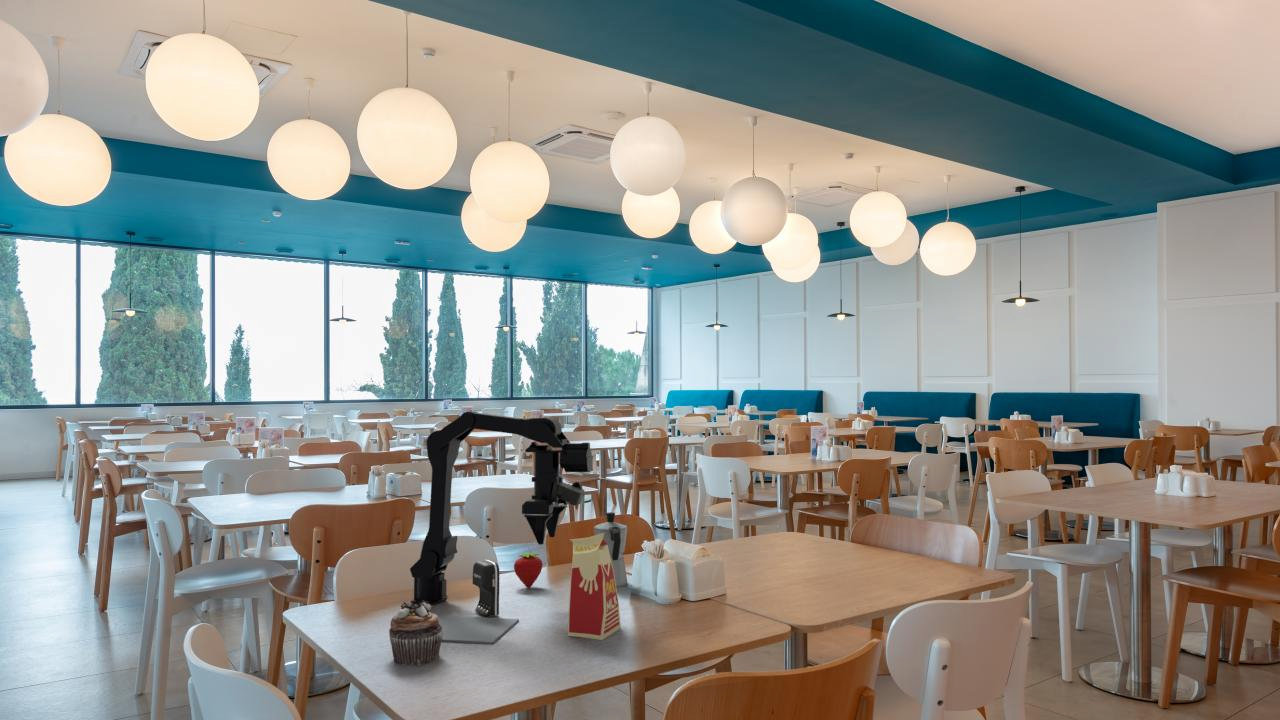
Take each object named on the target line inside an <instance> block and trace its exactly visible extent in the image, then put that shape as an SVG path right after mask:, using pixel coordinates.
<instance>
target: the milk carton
mask: <svg viewBox="0 0 1280 720" xmlns="http://www.w3.org/2000/svg"><path fill="white" fill-rule="evenodd" d="M603 536H604V533H602V534H598V535H595V534H594V535H591V536H589V537H583V538H582V537H581V538H572V539H571V538H570V539H569V541H570V542H571V543H572V560H571V561H572V562H571V572H570V584H569V585H570V586H569V601H568V603H569V605H568V606H569V607H568V622H567V623H568V624H567V625H568V627H567V628H568V629H567V637H576V638H585V639H592V640H599V641H603V640H604V639H606V638H608V637H609V636H611V635H612V634H614V633H615V632H617V631H618V630H620V629H621V628H622V627H621V616H620V614H621V613H620V604H619V603H620V602H619V597H618V590H617V587H616V582H615V576H614V571H613V566H612V562H611V557H610V553H609V549H608V544H607V543H606V542H605V541H604V540H603Z"/></svg>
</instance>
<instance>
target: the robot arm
mask: <svg viewBox="0 0 1280 720" xmlns="http://www.w3.org/2000/svg"><path fill="white" fill-rule="evenodd" d="M474 430H480V431H483V430H484V431H489V432H496V433H497V432H498V433H504V434H512V435H517V436H518V435H519V436H520V437H523V438H526V439H527V440H531V441H532V442H531V443H530V445H528V446H527V448H526V449H524V451H525V453H533V454H534V457H533V459H534V460H533V461H534V462H533V466H534V467H533V469H534V470H533V471H534V472H533V476H532V477H531V483H534V484H533V485H534V486H533V488H534V489H533V493H534V494H532V495H531V499H528V500H526V501H525V502H524V503H522V505H521V514H522V515H523V517H524V518H525V519H526V521H527V524H528V525H529V527H530V529H531V532H532V533H533V536H534V537H535V540H536V542H537V544H538V545H542V546H543V545H544V542H545V537H546V530H547V533H548V536H549V538H554V537H555V536H556V532H557V528H558V525H559V520H560V518H561V517H560V516H561V514H562V513H563V512H564V511H565V510H566V509H567V508H568V505H569V504H570V505H572V506H574V507H577V506H578V505H581V502H582V499H583V497H585V489H583V483H582V482H580V481H574V482H573V483H572V484H571V483H565V482H564V477H562V475H560V468H561V469H563V470H564V472H565V473H585V474H586V473H589V474H590V473H591V472H592V469H593V463H594V461H593V460H594V457H593V454H592V450H591V449H592V448H591V443H590V442H582V443H577V442H573V443H572V442H571V441H570V440H569V439H568V438H567V436H566V434H565V433H564V432H563V431H562V430H563V429H562V424H561V422H560V421H559V419H557V418H555V417H552V416H548V417H545V416H544V417H543V416H542V417H529V418H522V417H516V416H515V417H513V416H506V415H497V414H490V413H481V412H478V411H475V410H473V411H471V410H470V411H465V412H463V413H462V414H461V415H460V416H459V417H457V418H455V420H452V421H451V422H450V423H448V424H447V425H446V426H444V427H443V428H442V429H440V430H435V431H433V432H431V433H430V434H429V435H428V436H427V438H426V452H427V458H428V461H429V464H430V466H431V485H430V486H431V487H430V505H429V520H428V521H429V524H428V530H427V532H426V533H427V534H426V536H425V537H424V540H423V542H422V547H421V552H420V556H419V559H418V560H416V562H414V564H413V565H412V566H411V567H410V568H409V571H410V574H411V577H412V578H413V598H412V600H410V604H419V603H420V602H422V601H423V600H424V601H425V602H429V603H428V604H429V605H437V604H439V603H440V602H442V601H444V600H446V598H448V594H447V579H446V578H445V572H444V571H446V570H447V568H448V565H449V564H450V563H451V562H452V561H453V560H454V558H455V555H456V554H457V553H458V549H457V544H458V543H457V542H458V535H452V533H451V529H450V518H451V516H450V515H451V503H452V502H451V501H452V500H451V498H452V481H453V467H454V466H455V463H456V461H457V458H458V456H459V451H460V448H461V447H460V446H461V443H462V442H463V441H464V440H465V439H467V437H469V436H470V435H471V433H472V432H473V431H474ZM537 442H538V443H537ZM539 443H541V444H539ZM552 448H553V449H552ZM558 448H559V449H558ZM560 448H561V449H560Z"/></svg>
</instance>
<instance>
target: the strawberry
mask: <svg viewBox="0 0 1280 720" xmlns="http://www.w3.org/2000/svg"><path fill="white" fill-rule="evenodd" d="M527 548H528V550H529V551H530V553H527V552H525V553H524V554H521V555H519V558H518V559H516V560H515V561H514V564H513V569H514V572H515V575H516V576H517V577H518V579H519V580H520V582H522V584H523V585H524V586H525V587H526V588H531V587H533V584H534V583H535V582H536V580H537V579H538V577H539V576H540V575H541V573H542V570H543V565H544V564H543V561H542V560H541V559H542V558H540V557H539V555H540V554H539V553H532V551H531V549H530V548H529V546H527Z"/></svg>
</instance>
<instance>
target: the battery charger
mask: <svg viewBox="0 0 1280 720" xmlns="http://www.w3.org/2000/svg"><path fill="white" fill-rule="evenodd" d="M472 585H474V586H477V588H478V589H479V600H478V603H477V606H476V608H475V612H476V613H477V614H479V615H481V616H482V617H485V618H490V617H497V616H499V615H500V567H499V564H498V562H495V561H493V560H489V559H483V560H477V561H476V562H475V563H474V564H473V567H472Z"/></svg>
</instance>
